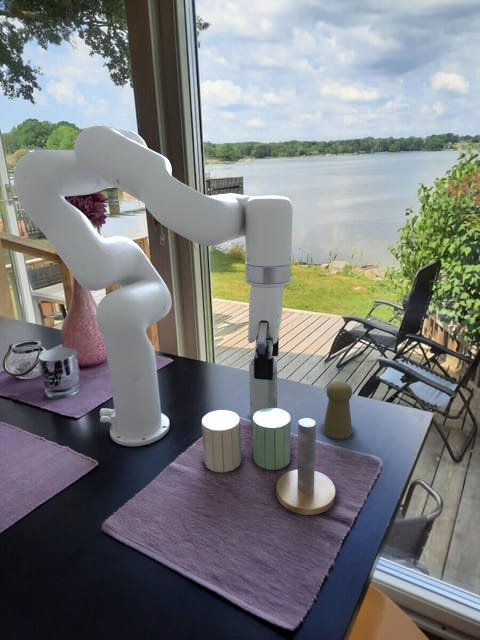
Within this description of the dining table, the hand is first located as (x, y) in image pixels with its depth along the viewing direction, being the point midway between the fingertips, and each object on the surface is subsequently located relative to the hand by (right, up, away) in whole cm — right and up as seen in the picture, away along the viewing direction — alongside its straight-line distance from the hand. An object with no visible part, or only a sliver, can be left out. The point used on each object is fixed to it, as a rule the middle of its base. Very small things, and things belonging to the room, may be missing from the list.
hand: (266, 366), depth 79 cm
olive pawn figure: (+16, -15, +14) cm, 26 cm away
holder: (+6, -21, -4) cm, 23 cm away
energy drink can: (0, -14, +20) cm, 24 cm away
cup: (-8, -19, +6) cm, 21 cm away
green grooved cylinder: (+1, -18, +6) cm, 19 cm away
